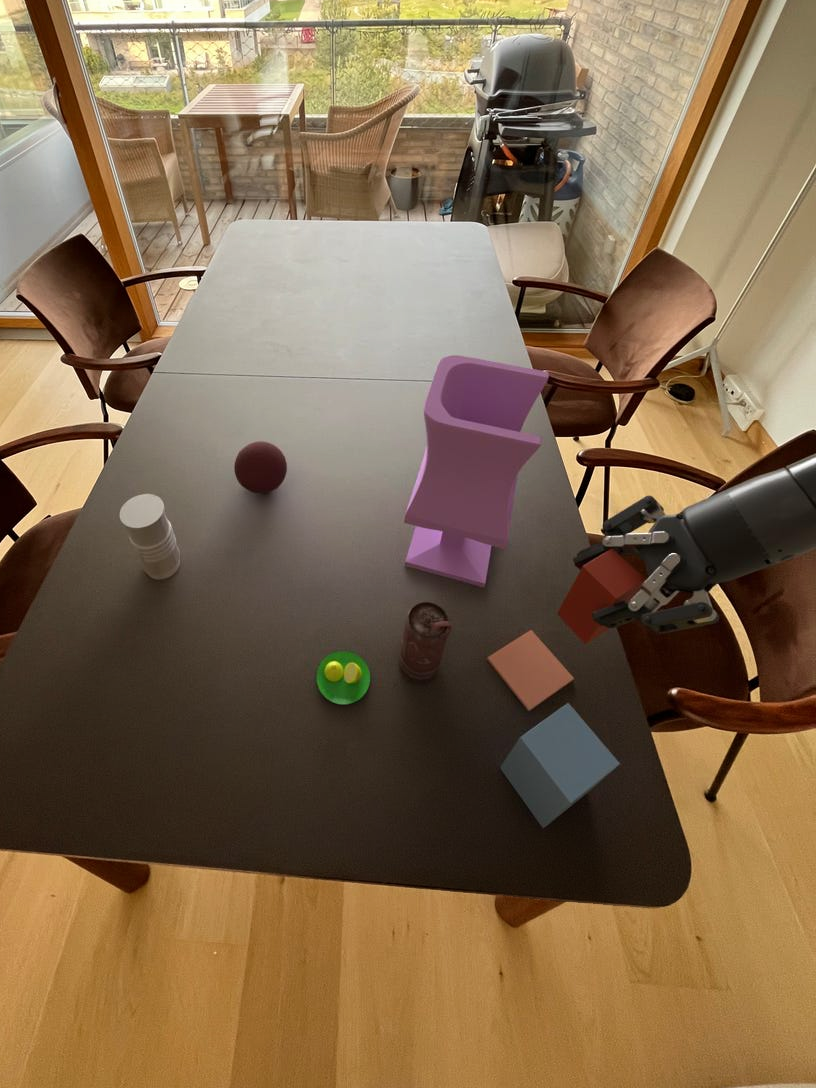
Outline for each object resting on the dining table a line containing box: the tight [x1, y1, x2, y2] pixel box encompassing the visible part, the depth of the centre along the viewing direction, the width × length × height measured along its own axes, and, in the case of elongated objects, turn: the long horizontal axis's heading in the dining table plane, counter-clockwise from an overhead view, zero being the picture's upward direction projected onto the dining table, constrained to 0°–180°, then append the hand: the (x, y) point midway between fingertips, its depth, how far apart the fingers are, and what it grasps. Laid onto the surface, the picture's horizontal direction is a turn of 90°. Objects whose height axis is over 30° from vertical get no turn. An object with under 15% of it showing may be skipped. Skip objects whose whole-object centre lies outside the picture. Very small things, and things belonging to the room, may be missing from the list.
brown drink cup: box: [397, 601, 453, 684], centre depth 82 cm, size 6×6×14 cm
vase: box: [403, 354, 550, 588], centre depth 90 cm, size 16×16×35 cm
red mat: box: [486, 629, 575, 712], centre depth 86 cm, size 9×9×1 cm
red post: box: [556, 549, 647, 645], centre depth 62 cm, size 4×4×10 cm
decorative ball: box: [233, 440, 288, 495], centre depth 109 cm, size 10×10×10 cm
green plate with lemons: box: [316, 650, 371, 705], centre depth 84 cm, size 8×8×3 cm
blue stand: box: [500, 702, 621, 829], centre depth 71 cm, size 8×8×12 cm
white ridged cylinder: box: [119, 493, 181, 580], centre depth 94 cm, size 7×7×15 cm
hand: (586, 591), depth 61 cm, fingers closed on red post, 6 cm apart
